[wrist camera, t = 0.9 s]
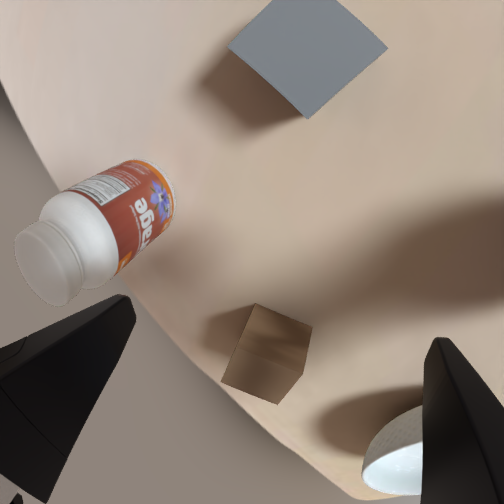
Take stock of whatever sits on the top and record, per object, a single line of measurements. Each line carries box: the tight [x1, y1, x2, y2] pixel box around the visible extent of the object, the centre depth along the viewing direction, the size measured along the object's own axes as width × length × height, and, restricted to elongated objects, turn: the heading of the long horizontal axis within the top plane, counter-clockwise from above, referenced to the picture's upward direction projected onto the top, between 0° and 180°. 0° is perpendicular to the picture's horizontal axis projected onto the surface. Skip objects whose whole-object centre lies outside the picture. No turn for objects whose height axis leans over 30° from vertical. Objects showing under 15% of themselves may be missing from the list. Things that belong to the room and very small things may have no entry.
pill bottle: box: [14, 159, 176, 307], centre depth 18 cm, size 6×6×11 cm
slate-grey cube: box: [227, 0, 388, 120], centre depth 13 cm, size 5×5×5 cm
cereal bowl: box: [362, 405, 423, 495], centre depth 24 cm, size 17×17×7 cm
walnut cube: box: [221, 303, 312, 405], centre depth 24 cm, size 5×5×5 cm
